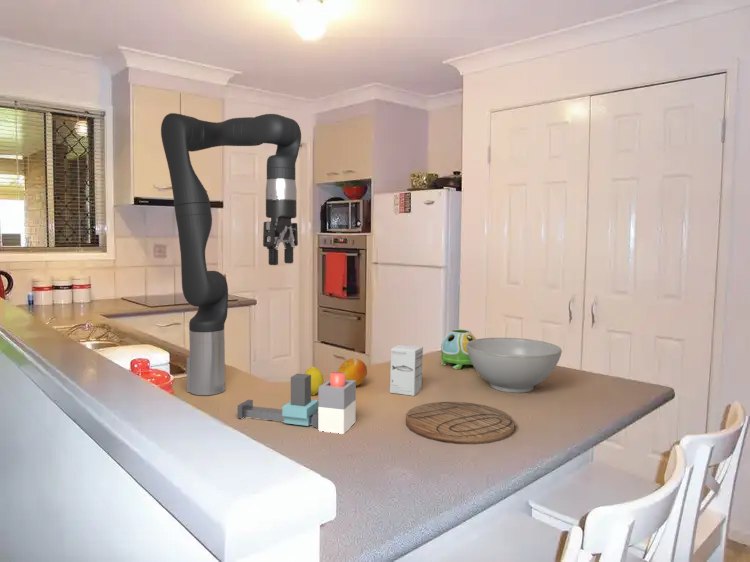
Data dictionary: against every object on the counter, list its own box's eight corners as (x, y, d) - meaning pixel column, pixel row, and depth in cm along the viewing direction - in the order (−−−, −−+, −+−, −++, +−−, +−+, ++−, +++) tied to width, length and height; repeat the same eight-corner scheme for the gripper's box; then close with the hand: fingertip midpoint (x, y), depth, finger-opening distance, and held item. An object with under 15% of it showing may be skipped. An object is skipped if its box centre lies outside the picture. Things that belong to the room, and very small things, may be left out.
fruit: (332, 388, 158) (332, 360, 157) (344, 381, 166) (345, 354, 165) (360, 391, 155) (360, 363, 154) (371, 384, 163) (371, 357, 162)
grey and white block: (318, 431, 124) (318, 387, 123) (331, 419, 131) (331, 378, 130) (343, 434, 122) (343, 389, 121) (355, 422, 129) (355, 380, 129)
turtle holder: (473, 375, 175) (474, 337, 174) (432, 364, 189) (433, 329, 188) (498, 369, 183) (499, 333, 182) (457, 359, 197) (458, 326, 196)
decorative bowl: (525, 372, 179) (526, 335, 178) (580, 396, 153) (582, 353, 152) (449, 378, 170) (450, 339, 169) (495, 404, 145) (496, 358, 144)
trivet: (383, 420, 132) (384, 413, 132) (459, 403, 147) (459, 396, 147) (458, 455, 112) (458, 446, 112) (537, 430, 127) (537, 422, 126)
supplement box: (389, 393, 154) (389, 348, 153) (398, 386, 160) (398, 343, 159) (414, 396, 151) (415, 350, 150) (422, 389, 158) (423, 345, 157)
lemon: (319, 399, 148) (320, 369, 147) (300, 397, 149) (300, 368, 148) (325, 393, 153) (326, 364, 152) (306, 391, 154) (306, 363, 153)
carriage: (282, 424, 127) (282, 378, 126) (295, 414, 133) (295, 371, 132) (306, 427, 125) (306, 380, 124) (318, 417, 132) (318, 373, 131)
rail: (237, 418, 131) (237, 405, 131) (248, 412, 136) (248, 399, 136) (317, 428, 125) (317, 414, 125) (325, 421, 130) (326, 408, 130)
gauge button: (327, 401, 125) (327, 374, 124) (333, 396, 128) (333, 371, 128) (341, 402, 124) (342, 376, 123) (347, 398, 127) (347, 372, 127)
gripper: (280, 200, 145) (280, 262, 146) (253, 196, 131) (253, 265, 133) (306, 200, 143) (306, 263, 144) (281, 196, 129) (282, 266, 131)
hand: (281, 264), depth 139 cm, fingers open, 8 cm apart
